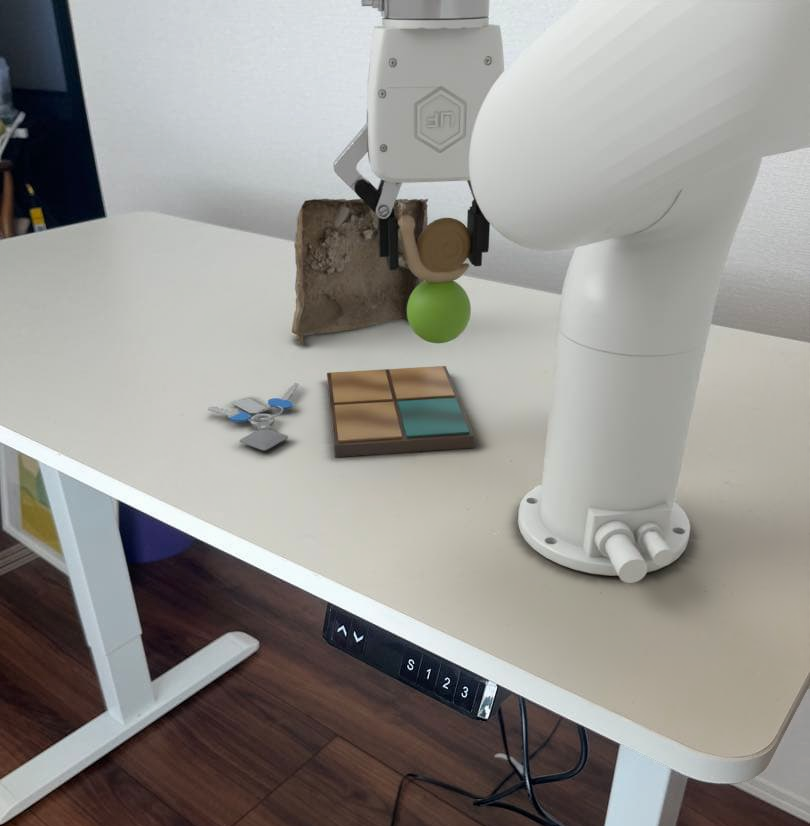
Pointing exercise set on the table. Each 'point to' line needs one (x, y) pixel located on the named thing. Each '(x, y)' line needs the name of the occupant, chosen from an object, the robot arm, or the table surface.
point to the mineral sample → (349, 267)
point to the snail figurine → (437, 277)
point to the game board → (396, 412)
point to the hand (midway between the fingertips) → (433, 261)
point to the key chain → (263, 435)
